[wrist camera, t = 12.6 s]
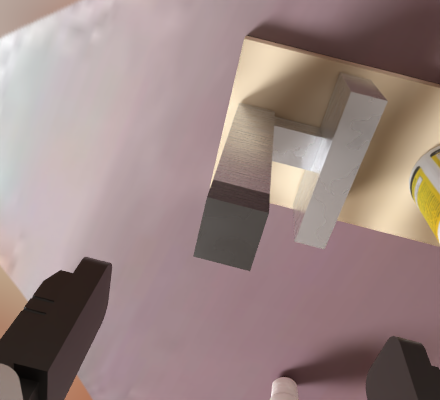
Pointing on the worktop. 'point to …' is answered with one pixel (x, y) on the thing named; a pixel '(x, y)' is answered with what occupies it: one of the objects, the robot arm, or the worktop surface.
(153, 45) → the worktop surface
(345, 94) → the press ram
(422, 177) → the supplement bottle
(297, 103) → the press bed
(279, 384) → the lightbulb
